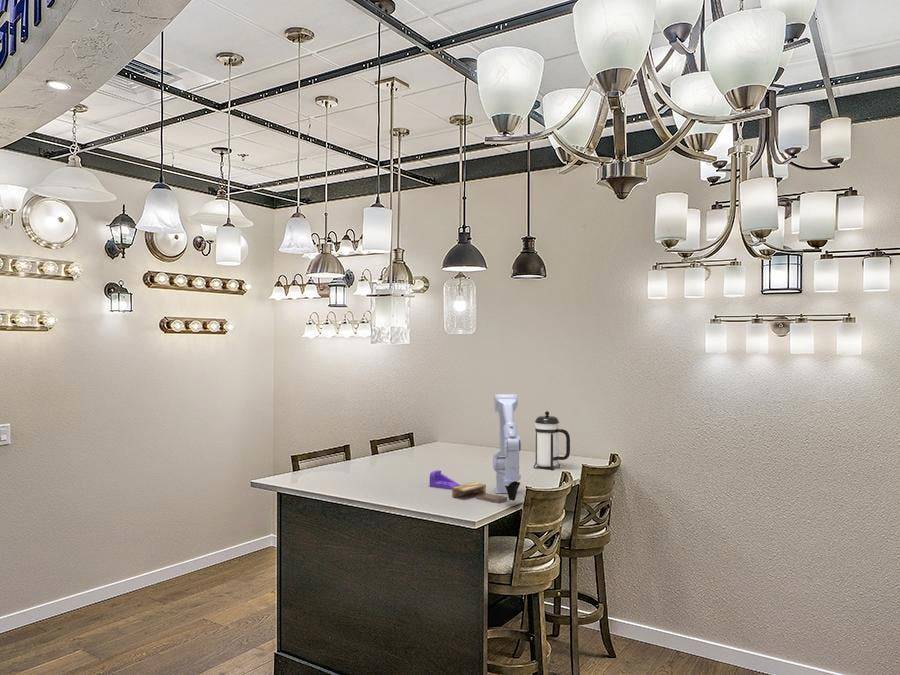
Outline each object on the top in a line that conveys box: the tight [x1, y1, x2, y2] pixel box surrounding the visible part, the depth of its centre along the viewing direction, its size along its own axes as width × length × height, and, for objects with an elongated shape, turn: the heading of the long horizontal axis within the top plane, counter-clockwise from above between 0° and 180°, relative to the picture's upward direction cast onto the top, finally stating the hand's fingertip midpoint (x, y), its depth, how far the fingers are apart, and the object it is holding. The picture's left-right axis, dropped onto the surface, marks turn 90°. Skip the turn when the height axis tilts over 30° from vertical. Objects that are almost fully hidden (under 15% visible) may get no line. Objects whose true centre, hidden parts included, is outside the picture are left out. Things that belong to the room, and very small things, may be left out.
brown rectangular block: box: [451, 481, 487, 498], centre depth 286 cm, size 7×14×4 cm, turn 136°
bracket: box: [429, 469, 461, 491], centre depth 304 cm, size 12×7×7 cm, turn 60°
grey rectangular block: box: [475, 492, 508, 504], centre depth 280 cm, size 12×6×2 cm, turn 49°
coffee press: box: [533, 411, 571, 471], centre depth 350 cm, size 17×16×30 cm
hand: (512, 500), depth 272 cm, fingers closed
